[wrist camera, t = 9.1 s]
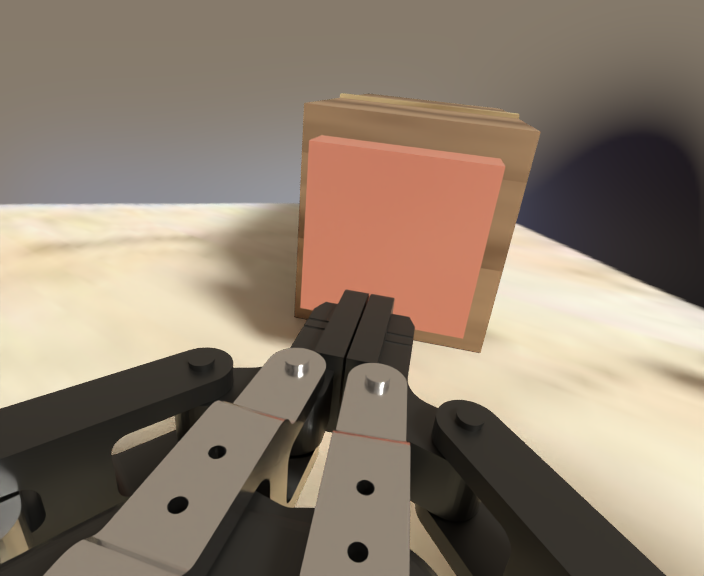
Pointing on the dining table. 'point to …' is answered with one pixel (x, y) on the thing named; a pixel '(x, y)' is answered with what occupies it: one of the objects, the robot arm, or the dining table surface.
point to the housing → (444, 135)
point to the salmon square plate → (398, 227)
